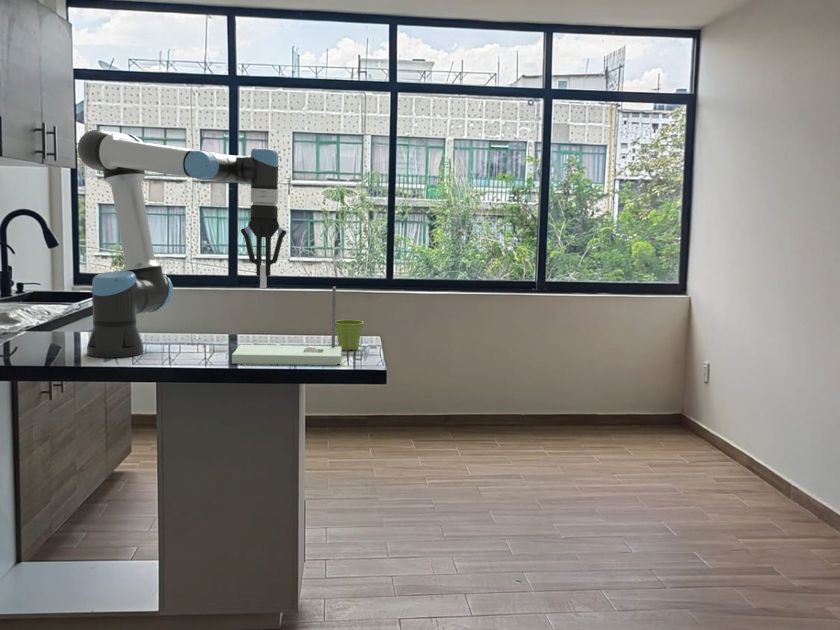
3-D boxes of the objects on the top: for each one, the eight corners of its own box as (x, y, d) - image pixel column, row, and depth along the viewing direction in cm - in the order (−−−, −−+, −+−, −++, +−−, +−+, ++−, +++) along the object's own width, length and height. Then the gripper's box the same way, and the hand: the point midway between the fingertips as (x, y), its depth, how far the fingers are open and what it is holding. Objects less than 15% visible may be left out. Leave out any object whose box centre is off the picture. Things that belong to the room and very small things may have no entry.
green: (232, 363, 212) (232, 289, 210) (242, 350, 232) (242, 283, 229) (340, 364, 215) (341, 292, 213) (341, 352, 234) (342, 285, 232)
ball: (305, 345, 219) (319, 349, 220) (306, 342, 223) (319, 346, 224) (301, 358, 220) (315, 362, 220) (303, 355, 224) (316, 359, 224)
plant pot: (355, 352, 235) (356, 324, 234) (328, 350, 238) (328, 322, 237) (368, 348, 244) (368, 321, 243) (341, 345, 247) (341, 319, 246)
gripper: (238, 203, 212) (238, 288, 215) (286, 205, 213) (284, 289, 216) (242, 203, 219) (242, 285, 222) (288, 205, 220) (287, 287, 223)
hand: (263, 287), depth 219 cm, fingers closed
